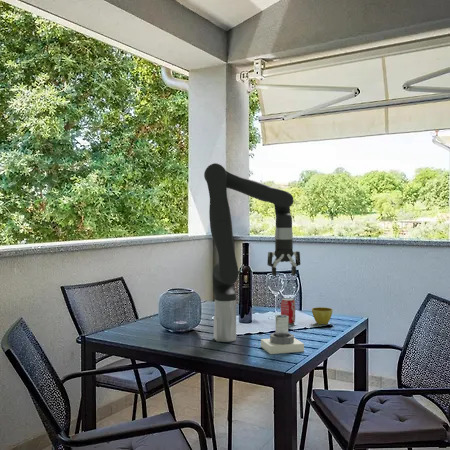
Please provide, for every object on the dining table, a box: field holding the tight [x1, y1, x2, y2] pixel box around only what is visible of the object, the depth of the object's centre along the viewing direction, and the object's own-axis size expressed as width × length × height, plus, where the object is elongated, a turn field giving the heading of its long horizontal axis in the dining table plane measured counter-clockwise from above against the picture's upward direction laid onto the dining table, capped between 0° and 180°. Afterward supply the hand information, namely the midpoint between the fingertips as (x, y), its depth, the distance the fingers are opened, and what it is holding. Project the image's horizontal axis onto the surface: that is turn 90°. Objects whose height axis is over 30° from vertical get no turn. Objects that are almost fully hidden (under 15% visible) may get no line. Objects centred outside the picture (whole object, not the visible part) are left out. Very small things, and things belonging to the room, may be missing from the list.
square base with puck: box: [260, 332, 305, 355], centre depth 188 cm, size 14×11×6 cm
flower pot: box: [311, 306, 333, 325], centre depth 233 cm, size 10×10×7 cm
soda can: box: [280, 297, 296, 325], centre depth 234 cm, size 7×7×12 cm
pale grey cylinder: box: [275, 314, 289, 337], centre depth 188 cm, size 5×5×10 cm
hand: (283, 275), depth 204 cm, fingers open, 8 cm apart
